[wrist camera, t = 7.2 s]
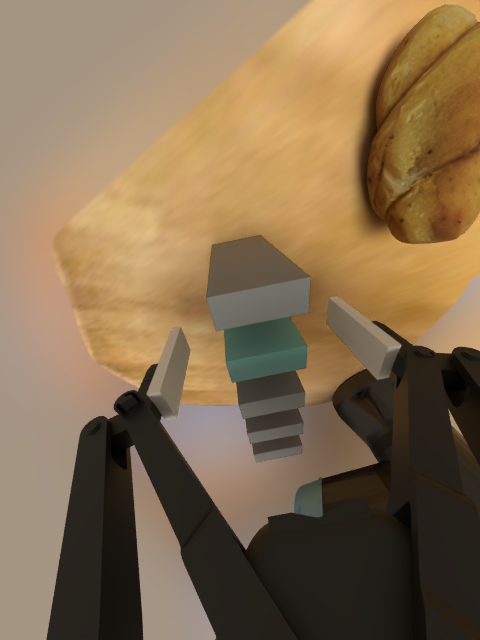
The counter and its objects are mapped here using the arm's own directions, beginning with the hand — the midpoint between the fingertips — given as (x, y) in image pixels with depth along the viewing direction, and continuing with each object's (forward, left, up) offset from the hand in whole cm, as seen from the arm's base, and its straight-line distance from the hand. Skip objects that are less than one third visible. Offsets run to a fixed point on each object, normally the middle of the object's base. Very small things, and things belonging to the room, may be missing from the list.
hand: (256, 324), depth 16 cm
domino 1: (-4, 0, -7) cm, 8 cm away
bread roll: (+11, -16, -7) cm, 20 cm away
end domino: (+5, 0, -7) cm, 8 cm away
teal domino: (+1, 0, -7) cm, 7 cm away
